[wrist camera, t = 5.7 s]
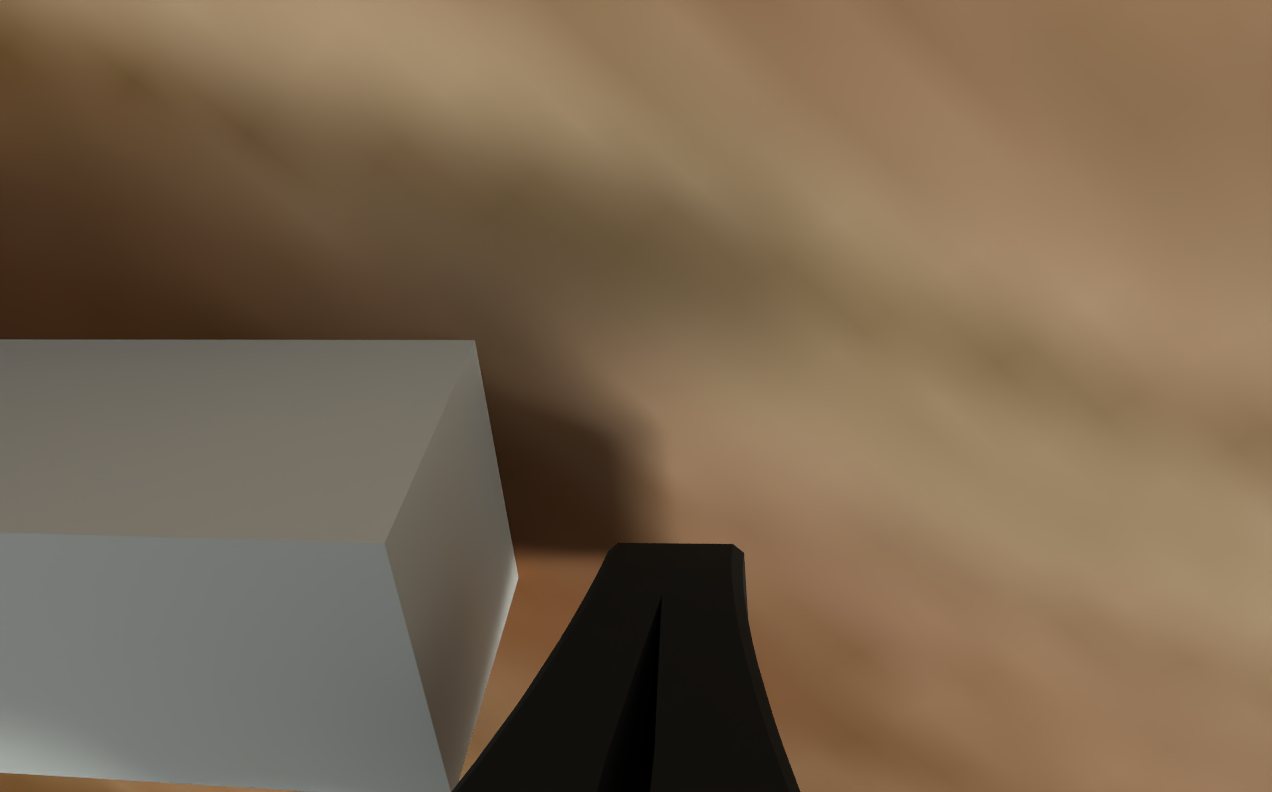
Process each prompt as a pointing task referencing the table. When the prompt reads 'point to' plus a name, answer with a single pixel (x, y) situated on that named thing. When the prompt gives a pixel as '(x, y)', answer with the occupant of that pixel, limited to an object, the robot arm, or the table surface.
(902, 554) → the table surface
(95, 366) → the gray rectangular block
